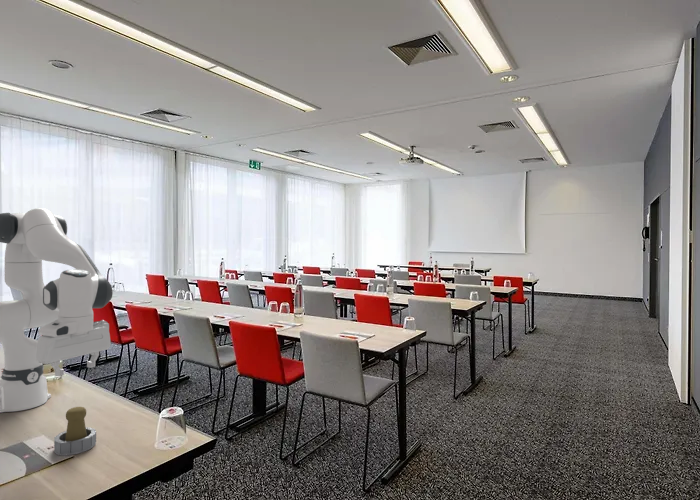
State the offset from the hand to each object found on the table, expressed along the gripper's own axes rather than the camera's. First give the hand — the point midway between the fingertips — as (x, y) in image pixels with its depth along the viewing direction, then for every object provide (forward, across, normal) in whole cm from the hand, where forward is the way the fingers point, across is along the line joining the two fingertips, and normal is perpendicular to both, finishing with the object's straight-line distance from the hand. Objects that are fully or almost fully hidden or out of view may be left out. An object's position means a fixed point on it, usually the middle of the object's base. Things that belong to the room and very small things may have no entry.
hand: (75, 371), depth 128 cm
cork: (+22, 0, 0) cm, 22 cm away
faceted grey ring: (+23, 0, 0) cm, 23 cm away
